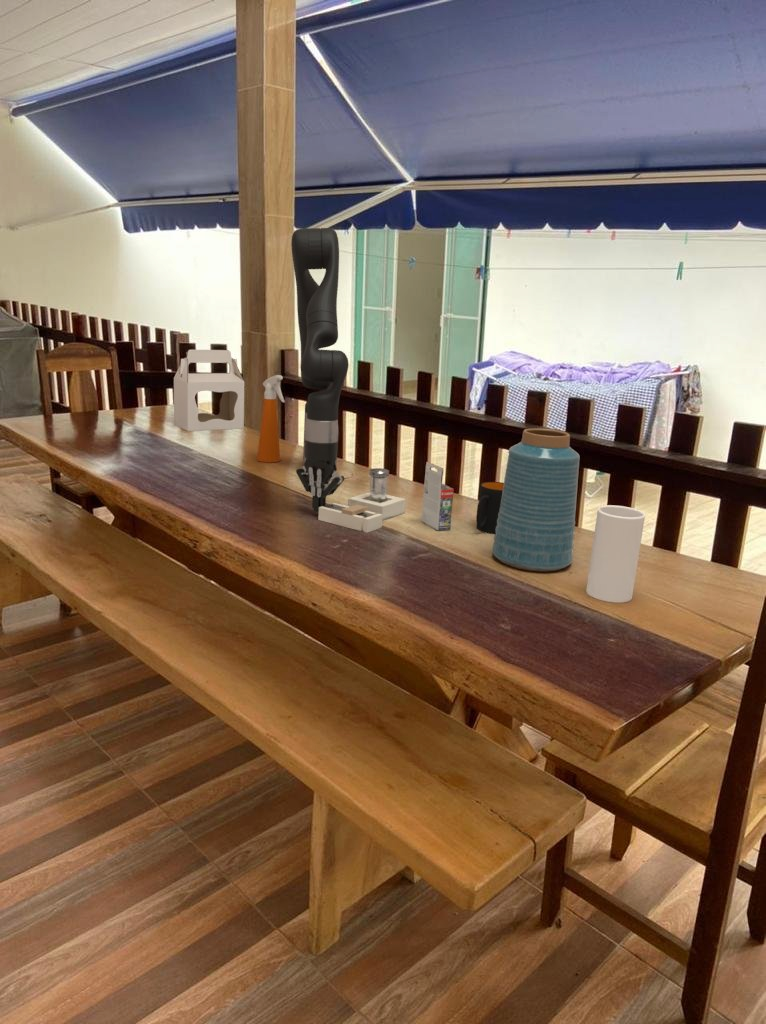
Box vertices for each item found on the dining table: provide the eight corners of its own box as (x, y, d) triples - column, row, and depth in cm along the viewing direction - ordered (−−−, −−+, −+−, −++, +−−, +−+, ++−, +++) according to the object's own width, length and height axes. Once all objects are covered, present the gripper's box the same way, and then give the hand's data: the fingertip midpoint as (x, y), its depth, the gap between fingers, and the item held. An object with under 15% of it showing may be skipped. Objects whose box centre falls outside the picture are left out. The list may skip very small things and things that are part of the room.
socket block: (371, 505, 195) (372, 491, 194) (404, 513, 190) (405, 499, 189) (347, 512, 187) (348, 498, 186) (381, 521, 181) (382, 506, 180)
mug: (460, 531, 178) (464, 487, 175) (488, 522, 187) (493, 480, 184) (490, 540, 173) (495, 494, 170) (518, 530, 182) (523, 487, 179)
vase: (578, 557, 165) (595, 432, 158) (562, 579, 150) (580, 443, 143) (504, 543, 171) (517, 422, 164) (481, 563, 157) (494, 432, 150)
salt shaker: (374, 507, 191) (375, 467, 188) (390, 510, 189) (392, 470, 186) (364, 511, 187) (366, 471, 184) (381, 514, 185) (383, 474, 182)
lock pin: (329, 515, 183) (329, 504, 182) (366, 524, 177) (367, 513, 176) (321, 517, 180) (321, 506, 180) (358, 527, 175) (359, 516, 174)
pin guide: (333, 515, 184) (334, 499, 183) (381, 527, 177) (383, 510, 176) (318, 519, 179) (319, 503, 178) (367, 532, 172) (368, 515, 171)
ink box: (434, 520, 185) (439, 460, 181) (451, 530, 178) (456, 467, 174) (420, 521, 183) (425, 460, 179) (437, 531, 176) (442, 468, 172)
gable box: (229, 422, 299) (230, 348, 291) (244, 428, 288) (245, 351, 281) (173, 425, 286) (172, 347, 278) (187, 431, 276) (186, 351, 268)
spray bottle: (272, 466, 230) (274, 376, 223) (252, 459, 238) (253, 372, 231) (291, 464, 235) (294, 376, 228) (271, 457, 243) (274, 371, 235)
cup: (580, 585, 148) (591, 504, 143) (621, 586, 149) (634, 506, 144) (595, 602, 140) (607, 516, 136) (639, 603, 141) (652, 518, 136)
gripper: (354, 441, 178) (350, 514, 182) (309, 432, 185) (306, 503, 189) (334, 444, 172) (331, 520, 176) (288, 436, 178) (286, 508, 183)
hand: (318, 511), depth 183 cm, fingers closed
